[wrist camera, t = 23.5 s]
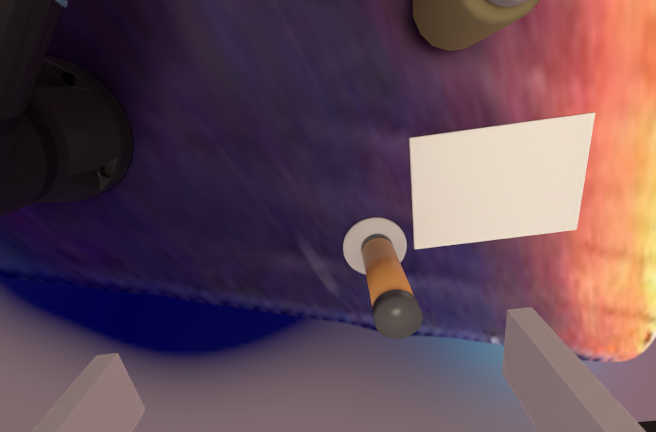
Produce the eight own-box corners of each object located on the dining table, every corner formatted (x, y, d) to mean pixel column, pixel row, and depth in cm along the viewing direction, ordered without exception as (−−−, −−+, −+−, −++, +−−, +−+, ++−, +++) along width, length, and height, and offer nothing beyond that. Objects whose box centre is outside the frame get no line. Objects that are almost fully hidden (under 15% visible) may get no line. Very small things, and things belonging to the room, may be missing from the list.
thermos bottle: (361, 264, 42) (376, 340, 29) (358, 234, 40) (372, 302, 28) (394, 260, 42) (422, 336, 29) (392, 231, 40) (422, 297, 28)
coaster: (346, 276, 43) (347, 278, 43) (339, 221, 40) (339, 223, 40) (407, 269, 43) (408, 271, 42) (404, 212, 40) (405, 214, 39)
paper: (413, 247, 42) (414, 249, 41) (408, 137, 37) (409, 138, 36) (574, 228, 41) (576, 229, 40) (592, 112, 36) (595, 112, 35)
